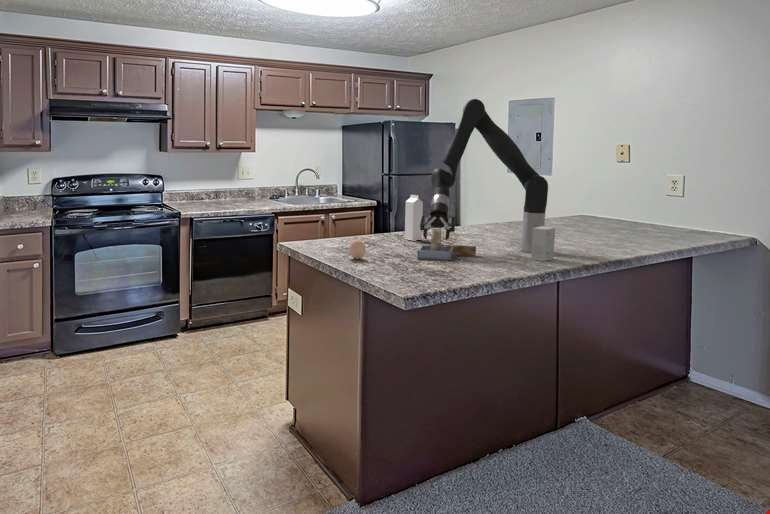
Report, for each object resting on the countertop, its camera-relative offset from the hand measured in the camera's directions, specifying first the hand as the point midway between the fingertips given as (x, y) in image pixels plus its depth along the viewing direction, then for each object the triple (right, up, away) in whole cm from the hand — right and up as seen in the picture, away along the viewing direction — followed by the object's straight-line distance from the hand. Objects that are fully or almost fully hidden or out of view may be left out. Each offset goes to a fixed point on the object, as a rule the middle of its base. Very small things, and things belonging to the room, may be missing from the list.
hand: (436, 238), depth 231 cm
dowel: (0, -7, +2) cm, 7 cm away
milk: (-7, 0, +44) cm, 45 cm away
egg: (-32, -9, -5) cm, 33 cm away
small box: (+44, -9, +2) cm, 45 cm away
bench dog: (+11, -7, +7) cm, 15 cm away
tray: (0, -8, +3) cm, 8 cm away
